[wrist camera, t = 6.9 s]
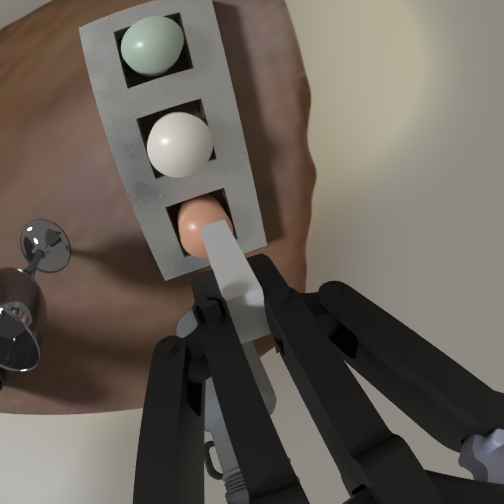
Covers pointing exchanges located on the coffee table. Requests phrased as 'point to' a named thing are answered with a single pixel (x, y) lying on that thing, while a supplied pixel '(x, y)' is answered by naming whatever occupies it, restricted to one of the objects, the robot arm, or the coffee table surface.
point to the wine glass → (29, 295)
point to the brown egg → (198, 222)
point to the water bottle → (216, 425)
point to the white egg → (179, 144)
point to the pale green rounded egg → (152, 45)
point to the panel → (162, 97)
